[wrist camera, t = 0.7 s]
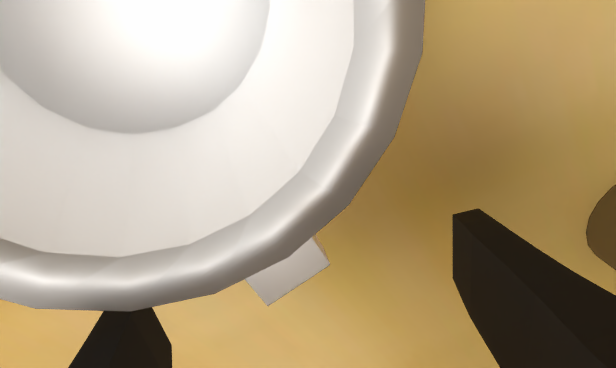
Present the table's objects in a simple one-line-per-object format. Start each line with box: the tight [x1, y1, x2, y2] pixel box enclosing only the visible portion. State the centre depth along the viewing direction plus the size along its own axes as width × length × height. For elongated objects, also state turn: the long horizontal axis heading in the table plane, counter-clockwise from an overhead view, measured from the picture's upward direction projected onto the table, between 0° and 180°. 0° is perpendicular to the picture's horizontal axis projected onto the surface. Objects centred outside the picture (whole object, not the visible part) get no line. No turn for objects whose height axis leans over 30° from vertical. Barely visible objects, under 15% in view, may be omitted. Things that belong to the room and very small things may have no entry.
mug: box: [0, 0, 425, 311], centre depth 13 cm, size 14×10×11 cm
